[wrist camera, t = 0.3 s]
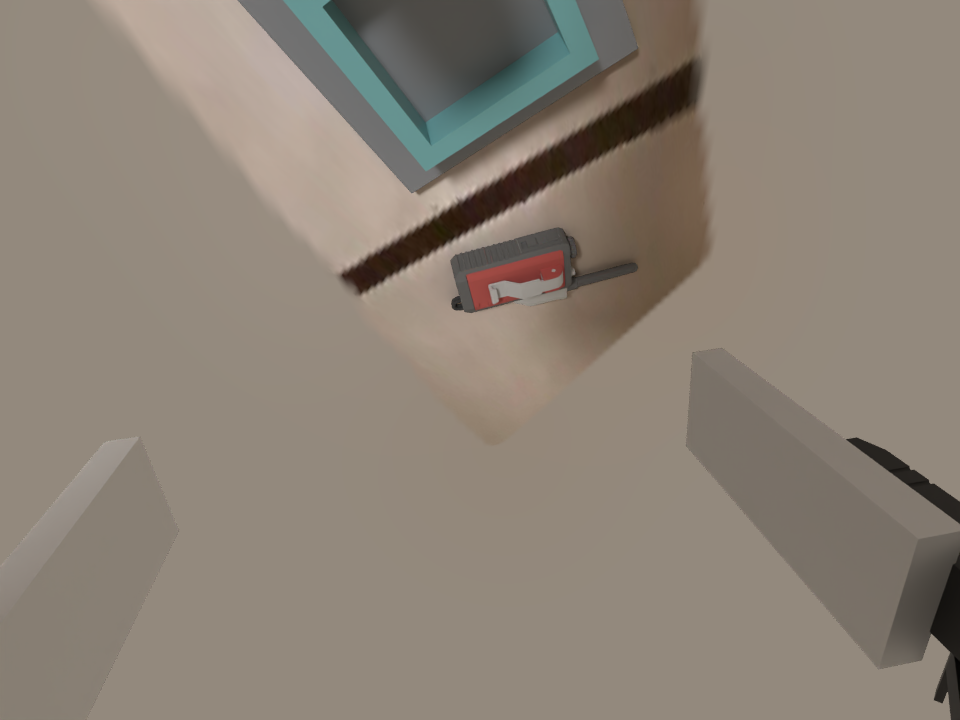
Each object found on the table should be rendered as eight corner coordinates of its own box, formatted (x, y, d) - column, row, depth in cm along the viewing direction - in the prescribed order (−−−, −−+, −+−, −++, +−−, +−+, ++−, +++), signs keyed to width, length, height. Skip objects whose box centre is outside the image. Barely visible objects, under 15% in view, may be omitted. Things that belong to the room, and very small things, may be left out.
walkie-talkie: (454, 311, 62) (632, 264, 62) (461, 342, 60) (647, 294, 59) (436, 255, 55) (637, 201, 54) (443, 288, 52) (654, 232, 52)
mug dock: (203, -46, 32) (197, -17, 30) (507, -331, 26) (528, -321, 24) (410, 185, 47) (416, 217, 45) (633, 41, 41) (653, 69, 39)
